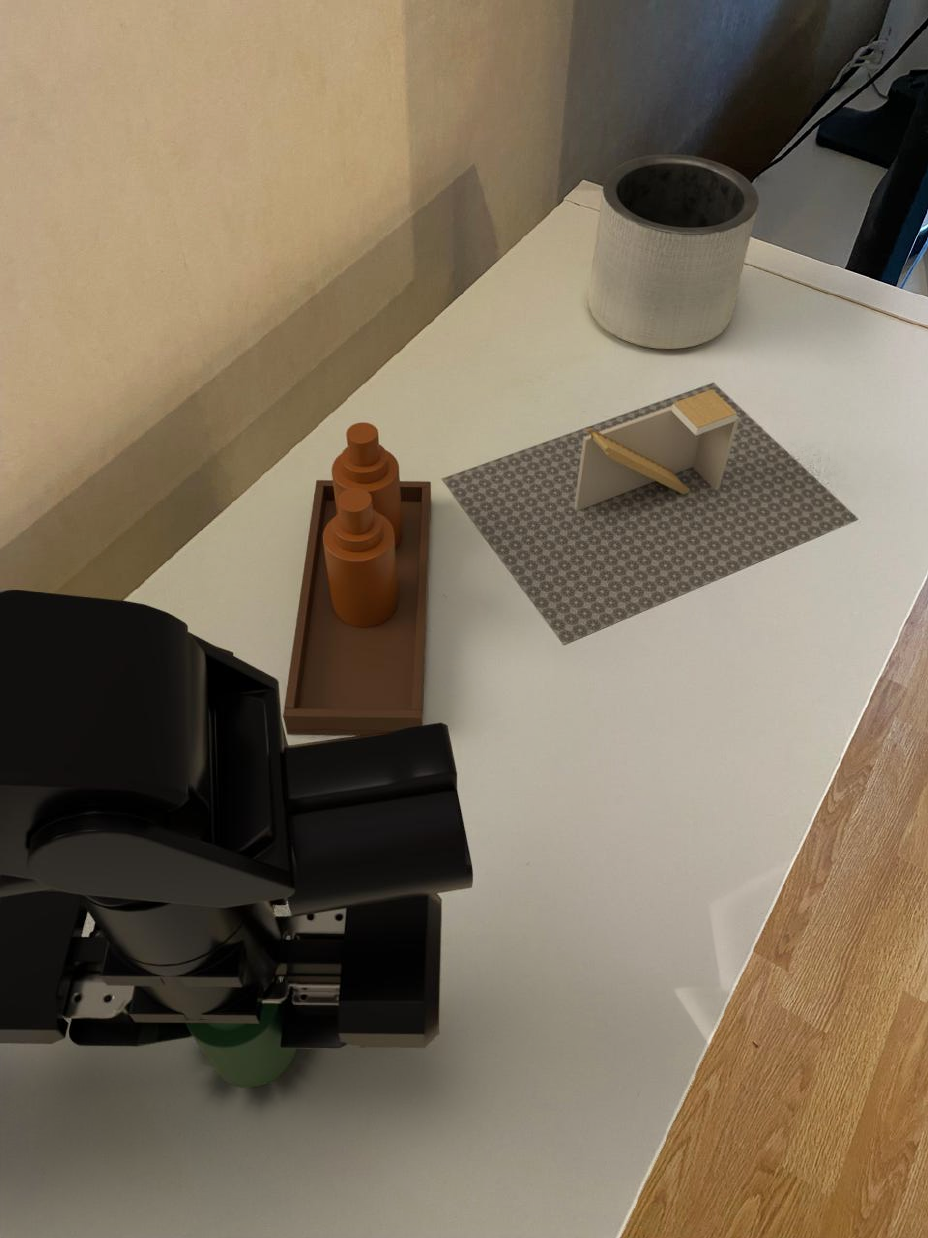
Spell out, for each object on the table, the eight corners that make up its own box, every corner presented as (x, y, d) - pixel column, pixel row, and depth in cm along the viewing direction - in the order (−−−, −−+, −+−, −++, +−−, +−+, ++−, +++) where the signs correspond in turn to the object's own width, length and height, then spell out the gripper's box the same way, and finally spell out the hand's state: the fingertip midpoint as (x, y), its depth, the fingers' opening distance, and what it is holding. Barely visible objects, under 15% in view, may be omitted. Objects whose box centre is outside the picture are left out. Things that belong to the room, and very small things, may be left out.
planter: (567, 334, 87) (580, 212, 78) (611, 259, 94) (627, 140, 86) (710, 370, 84) (740, 248, 76) (744, 290, 92) (775, 170, 83)
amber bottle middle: (348, 637, 66) (335, 535, 58) (321, 591, 68) (306, 488, 61) (409, 613, 67) (404, 510, 60) (381, 568, 69) (373, 465, 62)
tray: (422, 736, 62) (421, 717, 60) (287, 734, 62) (282, 716, 60) (431, 501, 74) (430, 481, 73) (319, 499, 74) (316, 479, 73)
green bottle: (226, 1105, 48) (185, 1045, 41) (196, 1021, 51) (153, 950, 44) (311, 1060, 50) (287, 995, 42) (279, 980, 52) (250, 905, 45)
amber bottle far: (355, 568, 69) (343, 464, 62) (330, 526, 72) (316, 422, 64) (413, 546, 71) (408, 442, 63) (386, 506, 73) (379, 402, 66)
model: (719, 489, 75) (742, 407, 69) (597, 536, 72) (611, 455, 66) (693, 462, 77) (714, 380, 71) (573, 508, 74) (584, 426, 68)
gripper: (443, 702, 41) (445, 869, 53) (-16, 697, 41) (90, 865, 53) (436, 976, 34) (440, 1096, 46) (-116, 969, 34) (32, 1091, 46)
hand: (246, 1024), depth 48 cm, fingers closed on green bottle, 4 cm apart
